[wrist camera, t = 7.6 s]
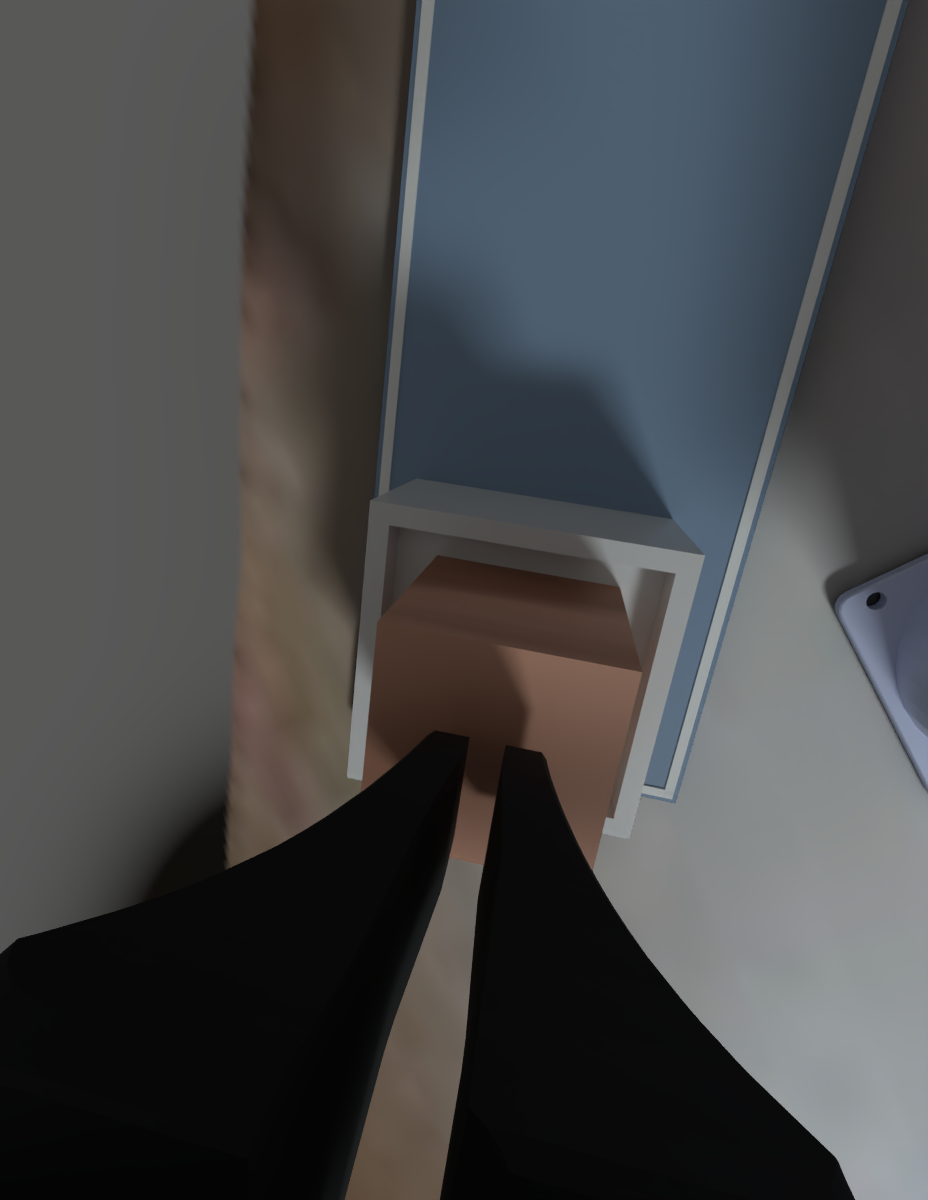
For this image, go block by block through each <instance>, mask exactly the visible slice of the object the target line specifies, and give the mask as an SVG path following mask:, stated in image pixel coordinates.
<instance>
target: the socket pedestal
mask: <svg viewBox="0 0 928 1200" xmlns="http://www.w3.org/2000/svg"><path fill="white" fill-rule="evenodd" d="M437 555H439V556H445V557H451V558H457V559H462V560H468V561H474V562H479V563H485V564H491V565H497V566H502V567H508V568H514V569H519V570H525V571H531V572H537V573H542V574H548V575H554V576H559V577H565V578H571V579H577V580H582V581H588V582H594V583H599V584H605V585H611V586H616V587H620V589H621V593H622V597H623V601H624V604H625V608H626V612H627V616H628V620H629V623H630V627H631V631H632V635H633V638H634V642H635V646H636V650H637V654H638V657H639V661H640V665H641V669H642V676H641V680H640V684H639V688H638V692H637V696H636V700H635V704H634V708H633V712H632V716H631V720H630V724H629V728H628V732H627V736H626V740H625V744H624V748H623V752H622V756H621V759H620V763H619V767H618V771H617V775H616V779H615V783H614V787H613V791H612V795H611V799H610V803H609V807H608V811H607V815H606V819H605V823H604V827H603V831H602V834H607V835H612V836H616V837H621V838H625V839H629V838H630V834H631V830H632V827H633V823H634V819H635V816H636V812H637V808H638V804H639V801H640V797H641V793H642V789H643V786H644V782H645V778H646V774H647V771H648V767H649V763H650V760H651V756H652V752H653V748H654V745H655V741H656V737H657V733H658V730H659V726H660V722H661V719H662V715H663V711H664V707H665V704H666V700H667V696H668V692H669V689H670V685H671V681H672V677H673V674H674V670H675V666H676V663H677V659H678V655H679V651H680V648H681V644H682V640H683V636H684V633H685V629H686V625H687V621H688V618H689V614H690V610H691V607H692V603H693V599H694V595H695V592H696V588H697V584H698V580H699V577H700V573H701V569H702V566H703V562H704V558H705V555H704V554H703V552H702V551H701V550H700V549H699V548H698V547H697V546H696V545H695V543H694V542H693V541H692V540H691V539H690V538H689V537H688V536H687V534H686V533H685V532H684V531H683V530H682V529H681V528H680V527H679V525H678V524H677V523H676V522H675V521H674V520H673V519H669V518H663V517H657V516H650V515H644V514H638V513H631V512H625V511H619V510H612V509H606V508H600V507H594V506H587V505H581V504H575V503H568V502H562V501H556V500H550V499H543V498H537V497H531V496H524V495H518V494H512V493H506V492H499V491H493V490H487V489H480V488H474V487H468V486H461V485H455V484H449V483H443V482H436V481H430V480H424V479H415V480H412V481H410V482H408V483H406V484H404V485H402V486H400V487H397V488H395V489H393V490H391V491H389V492H387V493H385V494H383V495H380V496H378V497H376V498H374V499H372V500H370V508H369V520H368V532H367V544H366V556H365V568H364V580H363V592H362V604H361V616H360V628H359V640H358V652H357V664H356V676H355V688H354V700H353V711H352V723H351V735H350V747H349V759H348V771H347V777H348V778H353V779H357V780H362V777H363V766H364V756H365V745H366V735H367V725H368V714H369V704H370V693H371V683H372V672H373V662H374V651H375V641H376V630H377V622H378V621H379V619H380V618H381V617H382V616H383V615H384V614H385V613H386V612H387V611H388V609H389V608H390V607H391V606H392V605H393V604H394V603H395V602H396V601H397V599H398V598H399V597H400V596H401V595H402V594H403V593H404V592H405V591H406V589H407V588H408V587H409V586H410V585H411V584H412V583H413V582H414V581H415V579H416V578H417V577H418V576H419V575H420V574H421V573H422V572H423V571H424V569H425V568H426V567H427V566H428V565H429V564H430V563H431V562H432V561H433V559H434V558H435V557H436V556H437Z"/></svg>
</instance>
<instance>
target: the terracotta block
mask: <svg viewBox="0 0 928 1200" xmlns="http://www.w3.org/2000/svg"><path fill="white" fill-rule="evenodd" d="M641 676H642V669H641V665H640V661H639V657H638V654H637V650H636V646H635V642H634V638H633V635H632V631H631V627H630V623H629V620H628V616H627V612H626V608H625V604H624V601H623V597H622V593H621V589H620V587H616V586H611V585H605V584H599V583H594V582H588V581H582V580H577V579H571V578H565V577H559V576H554V575H548V574H542V573H537V572H531V571H525V570H519V569H514V568H508V567H502V566H497V565H491V564H485V563H479V562H474V561H468V560H462V559H457V558H451V557H445V556H439V555H437V556H436V557H435V558H434V559H433V561H432V562H431V563H430V564H429V565H428V566H427V567H426V568H425V569H424V571H423V572H422V573H421V574H420V575H419V576H418V577H417V578H416V579H415V581H414V582H413V583H412V584H411V585H410V586H409V587H408V588H407V589H406V591H405V592H404V593H403V594H402V595H401V596H400V597H399V598H398V599H397V601H396V602H395V603H394V604H393V605H392V606H391V607H390V608H389V609H388V611H387V612H386V613H385V614H384V615H383V616H382V617H381V618H380V619H379V621H378V622H377V630H376V641H375V651H374V662H373V672H372V683H371V693H370V704H369V714H368V725H367V735H366V745H365V756H364V766H363V777H362V787H361V792H362V791H363V790H365V789H366V788H367V787H368V786H370V785H371V784H372V783H373V782H375V781H376V780H377V779H378V778H380V777H381V776H382V775H383V774H385V773H386V772H387V771H388V770H390V769H391V768H392V767H393V766H394V765H396V764H397V763H398V762H399V761H400V760H401V759H402V758H404V757H405V756H406V755H407V754H408V753H409V752H410V751H411V750H412V749H414V748H415V747H416V746H417V745H418V744H419V743H420V742H421V741H422V740H423V739H424V738H425V737H426V736H427V735H428V734H430V733H432V732H433V731H435V730H437V731H441V732H446V733H451V734H456V735H461V736H466V737H470V738H469V745H468V751H467V758H466V764H465V771H464V777H463V783H462V790H461V796H460V803H459V809H458V816H457V822H456V828H455V835H454V839H453V843H452V848H451V852H450V856H449V857H451V858H455V859H459V860H464V861H468V862H472V863H476V864H481V865H484V861H485V856H486V850H487V845H488V839H489V833H490V828H491V822H492V816H493V811H494V805H495V800H496V794H497V788H498V783H499V777H500V771H501V766H502V761H503V756H504V751H505V746H506V745H509V746H514V747H519V748H523V749H528V750H533V751H538V752H542V754H543V755H544V757H545V758H546V760H547V764H548V768H549V772H550V776H551V779H552V782H553V785H554V788H555V790H556V793H557V796H558V799H559V801H560V804H561V806H562V809H563V811H564V814H565V816H566V818H567V820H568V822H569V825H570V827H571V829H572V831H573V834H574V836H575V838H576V840H577V842H578V844H579V846H580V848H581V850H582V852H583V854H584V856H585V858H586V860H587V862H588V864H589V866H590V867H591V869H592V871H593V867H594V863H595V859H596V855H597V851H598V847H599V843H600V839H601V835H602V831H603V827H604V823H605V819H606V815H607V811H608V807H609V803H610V799H611V795H612V791H613V787H614V783H615V779H616V775H617V771H618V767H619V763H620V759H621V756H622V752H623V748H624V744H625V740H626V736H627V732H628V728H629V724H630V720H631V716H632V712H633V708H634V704H635V700H636V696H637V692H638V688H639V684H640V680H641Z"/></svg>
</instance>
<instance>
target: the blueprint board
mask: <svg viewBox="0 0 928 1200" xmlns="http://www.w3.org/2000/svg"><path fill="white" fill-rule="evenodd" d="M908 2H909V0H417V3H416V15H415V26H414V38H413V50H412V61H411V73H410V85H409V96H408V108H407V120H406V131H405V143H404V155H403V166H402V178H401V190H400V201H399V213H398V225H397V236H396V248H395V260H394V271H393V283H392V295H391V306H390V318H389V330H388V341H387V353H386V365H385V376H384V388H383V400H382V411H381V423H380V435H379V446H378V458H377V470H376V481H375V493H374V498H376V497H378V496H380V495H383V494H385V493H387V492H389V491H391V490H393V489H395V488H397V487H400V486H402V485H404V484H406V483H408V482H410V481H412V480H415V479H424V480H430V481H436V482H443V483H449V484H455V485H461V486H468V487H474V488H480V489H487V490H493V491H499V492H506V493H512V494H518V495H524V496H531V497H537V498H543V499H550V500H556V501H562V502H568V503H575V504H581V505H587V506H594V507H600V508H606V509H612V510H619V511H625V512H631V513H638V514H644V515H650V516H657V517H663V518H669V519H673V520H674V521H675V522H676V523H677V524H678V525H679V527H680V528H681V529H682V530H683V531H684V532H685V533H686V534H687V536H688V537H689V538H690V539H691V540H692V541H693V542H694V543H695V545H696V546H697V547H698V548H699V549H700V550H701V551H702V552H703V554H704V555H705V558H704V562H703V566H702V569H701V573H700V577H699V580H698V584H697V588H696V592H695V595H694V599H693V603H692V607H691V610H690V614H689V618H688V621H687V625H686V629H685V633H684V636H683V640H682V644H681V648H680V651H679V655H678V659H677V663H676V666H675V670H674V674H673V677H672V681H671V685H670V689H669V692H668V696H667V700H666V704H665V707H664V711H663V715H662V719H661V722H660V726H659V730H658V733H657V737H656V741H655V745H654V748H653V752H652V756H651V760H650V763H649V767H648V771H647V774H646V778H645V782H644V786H643V789H642V793H641V796H643V797H648V798H653V799H657V800H662V801H667V802H671V803H676V800H677V796H678V793H679V789H680V786H681V782H682V779H683V776H684V772H685V769H686V765H687V762H688V758H689V755H690V752H691V748H692V745H693V741H694V738H695V734H696V731H697V727H698V724H699V721H700V717H701V714H702V710H703V707H704V703H705V700H706V697H707V693H708V690H709V686H710V683H711V679H712V676H713V673H714V669H715V666H716V662H717V659H718V655H719V652H720V648H721V645H722V642H723V638H724V635H725V631H726V628H727V624H728V621H729V618H730V614H731V611H732V607H733V604H734V600H735V597H736V593H737V590H738V587H739V583H740V580H741V576H742V573H743V569H744V566H745V563H746V559H747V556H748V552H749V549H750V545H751V542H752V538H753V535H754V532H755V528H756V525H757V521H758V518H759V514H760V511H761V508H762V504H763V501H764V497H765V494H766V490H767V487H768V483H769V480H770V477H771V473H772V470H773V466H774V463H775V459H776V456H777V453H778V449H779V446H780V442H781V439H782V435H783V432H784V429H785V425H786V422H787V418H788V415H789V411H790V408H791V404H792V401H793V398H794V394H795V391H796V387H797V384H798V380H799V377H800V374H801V370H802V367H803V363H804V360H805V356H806V353H807V349H808V346H809V343H810V339H811V336H812V332H813V329H814V325H815V322H816V319H817V315H818V312H819V308H820V305H821V301H822V298H823V294H824V291H825V288H826V284H827V281H828V277H829V274H830V270H831V267H832V264H833V260H834V257H835V253H836V250H837V246H838V243H839V239H840V236H841V233H842V229H843V226H844V222H845V219H846V215H847V212H848V209H849V205H850V202H851V198H852V195H853V191H854V188H855V185H856V181H857V178H858V174H859V171H860V167H861V164H862V160H863V157H864V154H865V150H866V147H867V143H868V140H869V136H870V133H871V130H872V126H873V123H874V119H875V116H876V112H877V109H878V105H879V102H880V99H881V95H882V92H883V88H884V85H885V81H886V78H887V75H888V71H889V68H890V64H891V61H892V57H893V54H894V50H895V47H896V44H897V40H898V37H899V33H900V30H901V26H902V23H903V20H904V16H905V13H906V9H907V6H908Z"/></svg>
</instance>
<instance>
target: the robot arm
mask: <svg viewBox="0 0 928 1200" xmlns="http://www.w3.org/2000/svg"><path fill="white" fill-rule="evenodd" d="M877 592H880V599H879V601H878V602H877V603H876V604H875V605H871V606H867V603H866V601H867V598H868V597H869V596H870V595H871V594H873V593H877ZM834 608H835V612H836V615H837V617H838V619H839V621H840V623H841V625H842V627H843V628H844V630H845V632H846V634H847V636H848V638H849V640H850V642H851V644H852V646H853V648H854V650H855V652H856V654H857V656H858V658H859V660H860V662H861V664H862V666H863V668H864V670H865V671H866V673H867V675H868V677H869V679H870V681H871V683H872V685H873V687H874V689H875V691H876V693H877V695H878V697H879V699H880V701H881V703H882V705H883V707H884V709H885V711H886V713H887V715H888V716H889V718H890V720H891V722H892V724H893V726H894V728H895V730H896V732H897V734H898V736H899V738H900V740H901V742H902V744H903V746H904V748H905V750H906V752H907V754H908V756H909V758H910V759H911V761H912V763H913V765H914V767H915V769H916V771H917V773H918V775H919V777H920V779H921V781H922V783H923V785H924V787H925V789H926V791H927V793H928V554H926V555H923V556H921V557H919V558H917V559H915V560H913V561H910V562H908V563H906V564H904V565H902V566H900V567H898V568H895V569H893V570H891V571H889V572H887V573H885V574H882V575H880V576H878V577H876V578H874V579H872V580H869V581H867V582H865V583H863V584H861V585H859V586H857V587H854V588H852V589H850V590H848V591H846V592H844V593H843V594H841V595H840V596H839V598H838V599H837V600H836V603H835V607H834ZM469 738H470V737H466V736H461V735H456V734H451V733H446V732H441V731H437V730H435V731H433V732H432V733H430V734H428V735H427V736H426V737H425V738H424V739H423V740H422V741H421V742H420V743H419V744H418V745H417V746H416V747H415V748H414V749H412V750H411V751H410V752H409V753H408V754H407V755H406V756H405V757H404V758H402V759H401V760H400V761H399V762H398V763H397V764H396V765H394V766H393V767H392V768H391V769H390V770H388V771H387V772H386V773H385V774H383V775H382V776H381V777H380V778H378V779H377V780H376V781H375V782H373V783H372V784H371V785H370V786H368V787H367V788H366V789H365V790H363V791H362V792H361V793H359V794H358V795H356V796H355V797H353V798H352V799H351V800H349V801H348V802H346V803H345V804H344V805H342V806H341V807H339V808H338V809H336V810H335V811H334V812H332V813H331V814H329V815H328V816H326V817H325V818H323V819H322V820H320V821H318V822H317V823H315V824H314V825H312V826H311V827H309V828H307V829H306V830H304V831H302V832H301V833H299V834H297V835H295V836H294V837H292V838H290V839H288V840H287V841H285V842H283V843H281V844H279V845H278V846H276V847H274V848H272V849H270V850H268V851H265V852H263V853H261V854H259V855H257V856H255V857H253V858H250V859H248V860H246V861H244V862H242V863H240V864H238V865H235V866H233V867H231V868H229V869H227V870H225V871H223V872H221V873H218V874H216V875H214V876H211V877H209V878H206V879H204V880H201V881H199V882H196V883H194V884H191V885H189V886H186V887H184V888H181V889H179V890H176V891H173V892H171V893H167V894H165V895H162V896H159V897H157V898H153V899H151V900H148V901H145V902H142V903H139V904H136V905H134V906H130V907H127V908H124V909H121V910H118V911H115V912H111V913H108V914H104V915H101V916H98V917H94V918H91V919H87V920H84V921H80V922H77V923H73V924H70V925H67V926H63V927H59V928H56V929H52V930H49V931H45V932H42V933H38V934H34V935H30V936H27V937H23V938H19V939H17V940H16V941H15V942H14V943H12V944H11V945H10V946H9V947H8V948H7V949H6V950H5V951H3V952H2V953H1V954H0V1200H345V1196H346V1192H347V1188H348V1185H349V1181H350V1177H351V1173H352V1169H353V1166H354V1162H355V1158H356V1154H357V1150H358V1147H359V1143H360V1139H361V1135H362V1132H363V1128H364V1124H365V1120H366V1117H367V1113H368V1109H369V1105H370V1102H371V1098H372V1094H373V1091H374V1087H375V1083H376V1079H377V1076H378V1072H379V1068H380V1065H381V1061H382V1057H383V1053H384V1050H385V1047H386V1044H387V1040H388V1037H389V1034H390V1031H391V1028H392V1025H393V1022H394V1019H395V1016H396V1013H397V1010H398V1008H399V1005H400V1002H401V999H402V997H403V994H404V991H405V988H406V986H407V983H408V980H409V977H410V975H411V972H412V969H413V966H414V964H415V961H416V958H417V955H418V953H419V950H420V947H421V944H422V942H423V939H424V936H425V933H426V931H427V928H428V925H429V922H430V920H431V917H432V914H433V911H434V908H435V906H436V903H437V900H438V897H439V894H440V892H441V888H442V884H443V880H444V876H445V872H446V868H447V864H448V860H449V856H450V852H451V848H452V843H453V839H454V835H455V828H456V822H457V816H458V809H459V803H460V796H461V790H462V783H463V777H464V771H465V764H466V758H467V751H468V745H469ZM440 1200H855V1198H854V1196H853V1194H852V1192H851V1190H850V1188H849V1186H848V1184H847V1181H846V1179H845V1177H844V1174H843V1172H842V1170H841V1167H840V1165H839V1162H838V1160H837V1159H836V1158H835V1157H834V1156H833V1155H832V1154H831V1153H830V1152H829V1151H828V1150H827V1149H826V1148H825V1147H824V1146H823V1145H822V1144H821V1143H820V1142H819V1141H818V1140H817V1139H816V1138H815V1137H814V1136H813V1135H812V1134H811V1133H810V1132H809V1131H808V1130H806V1129H805V1128H804V1127H803V1126H802V1125H801V1124H800V1123H799V1122H798V1121H797V1120H796V1119H795V1118H794V1117H793V1116H792V1115H791V1114H790V1113H789V1112H788V1111H787V1110H786V1109H785V1108H784V1107H783V1106H782V1105H781V1104H780V1103H779V1102H777V1101H776V1100H775V1099H774V1098H773V1097H772V1096H771V1095H770V1094H769V1093H768V1092H767V1091H766V1090H765V1089H764V1088H763V1087H762V1086H761V1085H760V1084H759V1083H758V1082H757V1081H756V1080H755V1079H754V1078H753V1077H752V1076H751V1075H750V1074H749V1073H748V1072H747V1071H746V1070H745V1069H744V1068H743V1067H742V1066H741V1065H740V1064H739V1063H738V1062H737V1061H736V1060H735V1059H734V1058H733V1056H732V1055H731V1054H730V1053H729V1052H728V1051H727V1050H726V1049H725V1048H724V1047H723V1046H722V1045H721V1043H720V1042H719V1041H718V1040H717V1039H716V1038H715V1037H714V1036H713V1035H712V1034H711V1033H710V1031H709V1030H708V1029H707V1028H706V1027H705V1026H704V1025H703V1024H702V1023H701V1022H700V1021H699V1019H698V1018H697V1017H696V1016H695V1015H694V1014H693V1012H692V1011H691V1010H690V1009H689V1008H688V1007H687V1005H686V1004H685V1003H684V1002H683V1001H682V999H681V998H680V997H679V996H678V994H677V993H676V992H675V991H674V989H673V988H672V987H671V986H670V984H669V983H668V982H667V981H666V979H665V978H664V977H663V976H662V974H661V973H660V972H659V971H658V969H657V968H656V967H655V966H654V964H653V963H652V962H651V961H650V959H649V958H648V957H647V956H646V954H645V953H644V951H643V950H642V949H641V947H640V946H639V944H638V943H637V942H636V940H635V939H634V937H633V936H632V935H631V933H630V932H629V930H628V929H627V927H626V926H625V924H624V922H623V921H622V919H621V918H620V916H619V915H618V913H617V912H616V910H615V909H614V907H613V906H612V904H611V902H610V901H609V899H608V897H607V896H606V894H605V892H604V891H603V889H602V887H601V886H600V884H599V882H598V880H597V879H596V877H595V875H594V873H593V871H592V869H591V867H590V866H589V864H588V862H587V860H586V858H585V856H584V854H583V852H582V850H581V848H580V846H579V844H578V842H577V840H576V838H575V836H574V834H573V831H572V829H571V827H570V825H569V822H568V820H567V818H566V816H565V814H564V811H563V809H562V806H561V804H560V801H559V799H558V796H557V793H556V790H555V788H554V785H553V782H552V779H551V776H550V772H549V768H548V764H547V760H546V758H545V757H544V755H543V754H542V752H538V751H533V750H528V749H523V748H519V747H514V746H509V745H506V746H505V751H504V756H503V761H502V766H501V771H500V777H499V783H498V788H497V794H496V800H495V805H494V811H493V816H492V822H491V828H490V833H489V839H488V845H487V850H486V856H485V861H484V867H483V873H482V878H481V884H480V890H479V895H478V903H477V914H476V926H475V937H474V948H473V960H472V971H471V983H470V995H469V1006H468V1018H467V1029H466V1040H465V1048H464V1056H463V1064H462V1072H461V1078H460V1084H459V1089H458V1095H457V1101H456V1107H455V1113H454V1119H453V1125H452V1131H451V1137H450V1143H449V1149H448V1155H447V1161H446V1167H445V1172H444V1178H443V1184H442V1190H441V1196H440Z"/></svg>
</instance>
